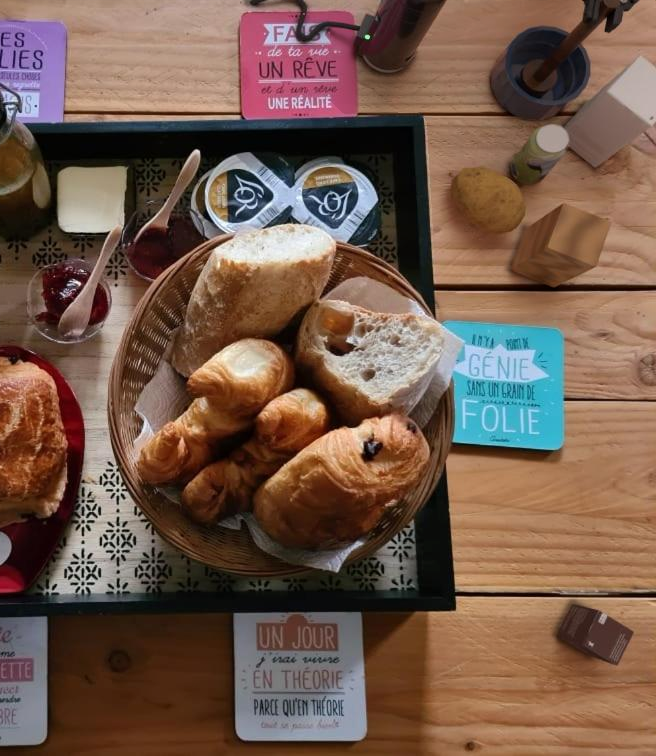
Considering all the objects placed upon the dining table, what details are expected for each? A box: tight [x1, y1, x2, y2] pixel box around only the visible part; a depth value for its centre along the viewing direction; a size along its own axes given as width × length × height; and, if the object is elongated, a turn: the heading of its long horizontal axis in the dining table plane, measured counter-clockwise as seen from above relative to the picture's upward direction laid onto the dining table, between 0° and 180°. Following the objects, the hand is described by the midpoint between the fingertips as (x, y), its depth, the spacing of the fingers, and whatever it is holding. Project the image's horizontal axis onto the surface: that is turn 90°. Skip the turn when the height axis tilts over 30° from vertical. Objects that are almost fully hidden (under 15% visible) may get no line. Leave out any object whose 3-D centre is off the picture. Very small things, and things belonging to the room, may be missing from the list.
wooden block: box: [509, 202, 612, 288], centre depth 120 cm, size 8×8×12 cm
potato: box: [450, 165, 527, 235], centre depth 123 cm, size 10×13×9 cm
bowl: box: [490, 25, 591, 121], centre depth 128 cm, size 15×15×6 cm
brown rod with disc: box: [517, 0, 620, 97], centre depth 118 cm, size 6×6×22 cm
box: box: [556, 603, 635, 666], centre depth 114 cm, size 6×6×7 cm
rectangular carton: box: [563, 54, 656, 168], centre depth 122 cm, size 9×9×15 cm
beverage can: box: [510, 123, 570, 186], centre depth 123 cm, size 6×7×12 cm
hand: (600, 26), depth 109 cm, fingers closed on brown rod with disc, 2 cm apart
